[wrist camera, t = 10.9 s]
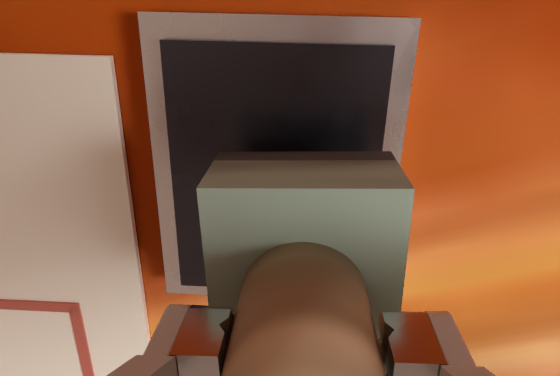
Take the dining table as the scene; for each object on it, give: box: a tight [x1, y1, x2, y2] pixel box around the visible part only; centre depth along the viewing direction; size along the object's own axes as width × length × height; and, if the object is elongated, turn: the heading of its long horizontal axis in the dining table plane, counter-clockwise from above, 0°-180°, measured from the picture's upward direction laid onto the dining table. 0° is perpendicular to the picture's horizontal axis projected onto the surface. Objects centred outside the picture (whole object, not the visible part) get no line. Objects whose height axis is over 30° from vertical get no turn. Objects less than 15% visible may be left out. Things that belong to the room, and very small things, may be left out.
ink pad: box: [137, 11, 421, 295], centre depth 16 cm, size 11×9×2 cm
